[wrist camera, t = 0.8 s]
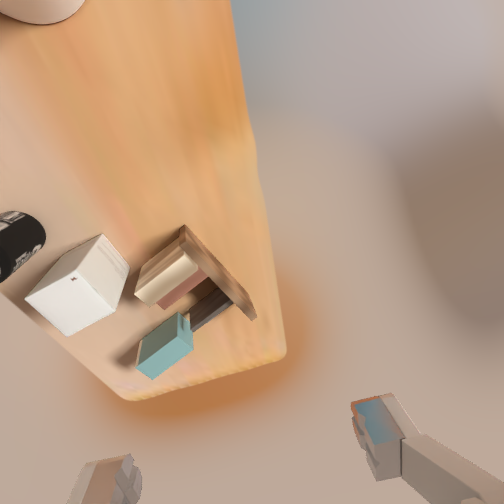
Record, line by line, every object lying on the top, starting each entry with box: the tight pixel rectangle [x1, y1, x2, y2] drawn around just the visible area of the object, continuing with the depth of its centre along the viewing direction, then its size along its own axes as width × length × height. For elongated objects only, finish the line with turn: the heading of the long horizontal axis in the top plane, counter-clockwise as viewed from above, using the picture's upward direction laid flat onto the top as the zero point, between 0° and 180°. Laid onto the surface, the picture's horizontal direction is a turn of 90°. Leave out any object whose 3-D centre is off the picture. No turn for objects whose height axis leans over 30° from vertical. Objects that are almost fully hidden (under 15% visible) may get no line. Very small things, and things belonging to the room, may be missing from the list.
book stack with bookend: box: [134, 225, 257, 332], centre depth 47 cm, size 18×10×9 cm, turn 36°
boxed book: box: [135, 312, 193, 380], centre depth 51 cm, size 4×9×7 cm, turn 126°
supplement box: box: [24, 234, 130, 337], centre depth 40 cm, size 7×7×13 cm
